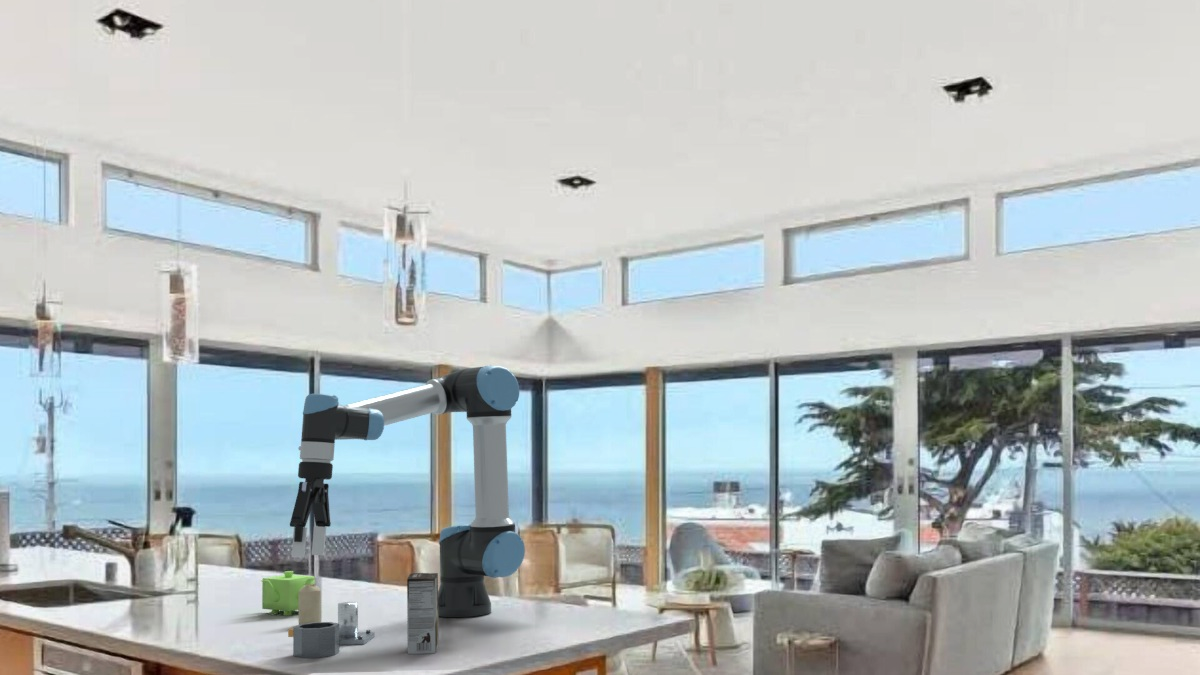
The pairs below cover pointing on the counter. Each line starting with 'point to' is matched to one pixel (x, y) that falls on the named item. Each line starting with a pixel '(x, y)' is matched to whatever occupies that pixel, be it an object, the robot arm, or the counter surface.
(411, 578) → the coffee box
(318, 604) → the candle
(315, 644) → the collar
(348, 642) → the bolted post base
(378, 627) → the counter surface
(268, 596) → the kettle
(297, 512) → the robot arm
